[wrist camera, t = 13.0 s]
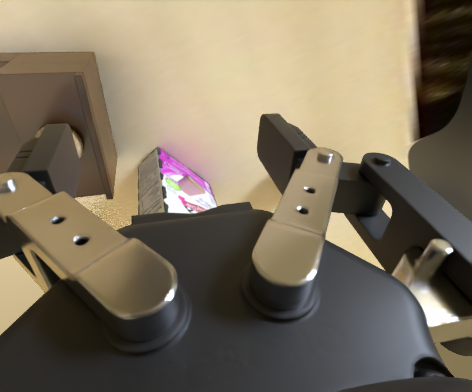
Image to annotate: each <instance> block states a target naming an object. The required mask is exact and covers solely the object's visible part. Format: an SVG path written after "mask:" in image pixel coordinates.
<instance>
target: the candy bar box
mask: <svg viewBox="0 0 472 392" xmlns="http://www.w3.org/2000/svg"><path fill="white" fill-rule="evenodd" d="M215 207H217V204H216V201H215V198H214V195H213V193H212V190H211V187H210V184H208V183H207V182H206V181H204V180H203V179H201V178H200V177H199V176H197V175H196V174H194V173H193V172H192V171H190V170H189V169H188V168H186V167H185V166H184V165H182V164H181V163H179V162H178V161H177V160H175V159H174V158H173V157H171V156H170V155H168V154H167V153H166V152H164V151H163V150H162V149H160V148H159V147H157V148H156V149H155V150H154V151H153V152H152V153H151V155H150V156H149V157H148V158H147V159H146V160H145V161H144V162H143V163H142V164H141V165H140V166H139V167H138V215H144V214H152V213H161V212H168V213H191V214H193V213H198V212H202V211H205V210H208V209H211V208H215Z"/></svg>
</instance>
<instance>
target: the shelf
mask: <svg viewBox="0 0 472 392" xmlns="http://www.w3.org/2000/svg"><path fill="white" fill-rule="evenodd" d="M64 123H67V124H69V126H70V128H71V129H72V130H73V131H75V132H76V133H77V134H78V135H79V137H80V138H81V140H82V142H83V153H82V156H81V157H80V164H81V175H80V179H79V183H78V187H77V191H76V195H75V198H76V197H84V196H93V195H102V194H106V198H107V200H108V199H113V194H114V185H115V175H116V165H117V154H116V150H115V145H114V140H113V136H112V131H111V127H110V122H109V118H108V113H107V109H106V104H105V100H104V95H103V91H102V86H101V82H100V77H99V73H98V68H97V64H96V59H95V55H94V52H41V53H0V174H3V173H6V172H7V170H8V169H9V167H10V165H11V164H12V162H13V160H14V159H16V158H15V157H16V155H17V154H18V153H19V150H20V149H21V147H22V145H23V144H24V143H26V142H27V141H29V140H30V139H32V138H34V137H35V135H36V133H37V132H38V131H39V130H40V129H41V128H42V127H45V125H46V124H64Z"/></svg>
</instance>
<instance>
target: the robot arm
mask: <svg viewBox="0 0 472 392" xmlns="http://www.w3.org/2000/svg"><path fill="white" fill-rule="evenodd" d="M257 153H258V157H259V159H260V161H261V162H262V164H263V166H264V167H265V169H266V170H267V172H268V173H269V175H270V177H271V178H272V180H273V181H274V183H275V185H276V186H277V188H278V189H279V191H280V192H281V194H282V198H281V200H280V202H279V204H278V206H277V208H276V210H275V212H274V213H271V212H268V211H263V210H256V209H253V208H252V206H251V204H250V202H243V203H235V204H227V205H221V206H218V207H215V208H211V209H208V210H205V211H202V212H198V213H193V214H191V213H168V212H161V213H152V214H144V215H136V216H132V225H129V226H126V227H123V228H121V229H119V230H117V231H116V230H115V229H114V228H112V227H111V226H110V225H108V224H107V223H106V222H104V221H103V220H102V219H100V218H99V217H98V216H96V215H95V214H94V213H92V212H91V211H90V210H88V209H87V208H86V207H84V206H83V205H82V204H81V203H79V202H78V201H77V200H75V195H76V191H77V187H78V183H79V179H80V175H81V164H80V159H79V155H78V152H77V148H76V145H75V141H74V138H73V135H72V131H71V128H70V126H69V124H67V123H64V124H46V125H45V127H44V129H43V131H42V133H41V135H40V137H34V138H32V139H30V140H29V141H27V142H26V143H24V144H23V145H22V147H21V149H20V150H19V153H18V154H17V155H16V157H15V158H16V159H14V160H13V162H12V164H11V165H10V167H9V169H8V170H7V172H6V173H3V174H0V259H2V258H5V257H8V256H11V255H13V257H14V258H15V259H16V261H17V262H18V263H19V264H20V265H21V266H22V267H23V268H24V269H25V271H26V272H27V273H28V274H29V275H30V276H31V277H32V278H33V279H34V281H35V282H36V283H37V284H38V285H39V286H40V287H41V289H42V290H43V291H44V293H45V294H44V295H43V296H42V297H41V298H39V299H38V300H37V301H36V302H35V303H34V304H33V305H32V306H31V307H30V308H29V309H28V310H27V311H26V312H25V313H24V314H22V315H21V316H20V317H19V318H18V319H17V320H16V321H15V322H14V323H13V324H12V325H11V326H10V327H9V328H8V329H7V330H5V331H4V332H3V333H2V334H1V335H0V392H472V380H468V379H462V378H454V376H453V375H452V374H451V373H450V372H449V370H448V369H447V367H446V366H445V364H444V362H443V360H442V359H441V357H440V355H439V353H438V351H437V349H436V347H435V344H436V343H440V344H441V345H443V346H444V347H445V348H447V349H448V350H450V351H452V352H454V353H456V354H459V355H463V356H472V222H471V221H470V220H468V219H467V218H466V217H465V216H464V215H462V214H461V213H460V212H459V211H457V210H456V209H455V208H454V207H453V206H451V205H450V204H449V203H448V202H447V201H445V200H444V199H443V198H442V197H441V196H439V195H438V194H437V193H436V192H435V191H433V190H432V189H431V188H430V187H429V186H427V185H426V184H425V183H424V182H423V181H421V180H420V179H419V178H418V177H416V176H415V175H414V174H413V173H412V172H411V171H409V170H408V169H407V168H406V167H405V166H403V165H402V164H401V163H400V162H399V161H397V160H396V159H394V158H393V157H391V156H388V155H385V154H381V153H367V154H365V155H364V156H363V159H362V162H361V164H357V163H346V162H343V157H342V156H341V155H340V154H339V153H338V152H336V151H334V150H331V149H327V148H317V147H316V146H315V144H314V143H313V142H312V141H311V140H310V139H309V138H307V136H306V135H305V134H303V132H302V131H301V130H300V129H299V128H298V127H296V126H294V125H292V124H290V123H287V122H286V121H285V120H284V119H283V118H282V117H281V115H280V114H263V115H262V116H261V118H260V125H259V134H258V143H257ZM385 200H387V201H388V202H389V203H390V204H391V207H392V216H391V219H390V218H389V217H388V216H387V215H386V214H385V212H384V211H383V210H382V207H383V205H384V203H385ZM331 212H337V213H344V214H345V216H346V218H347V219H348V220H349V222H350V223H351V224H352V226H353V227H354V229H355V230H356V231H357V233H358V234H359V235H360V237H361V238H362V239H363V241H364V242H365V244H366V245H367V246H368V248H369V249H370V250H371V252H372V253H373V254H374V256H375V257H376V258H377V260H378V261H379V263H380V264H381V265H382V267H383V268H384V269H385V271H384V270H382V269H380V268H378V267H376V266H374V265H372V264H371V263H369V262H367V261H365V260H363V259H361V258H359V257H357V256H355V255H354V254H352V253H350V252H348V251H346V250H344V249H342V248H340V247H338V246H337V245H335V244H333V243H331V242H329V241H327V240H325V237H326V236H325V235H326V231H327V226H328V222H329V218H330V214H331Z"/></svg>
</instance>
